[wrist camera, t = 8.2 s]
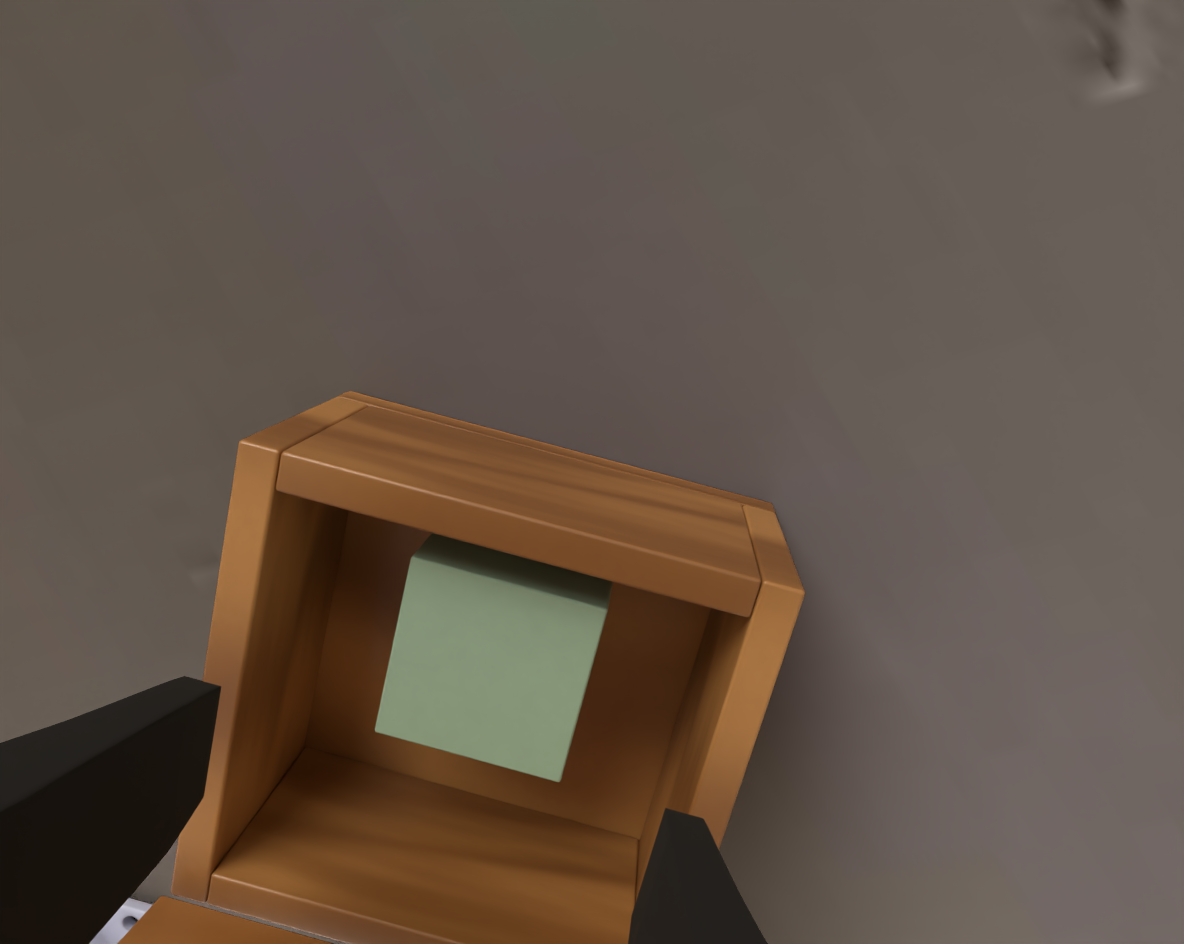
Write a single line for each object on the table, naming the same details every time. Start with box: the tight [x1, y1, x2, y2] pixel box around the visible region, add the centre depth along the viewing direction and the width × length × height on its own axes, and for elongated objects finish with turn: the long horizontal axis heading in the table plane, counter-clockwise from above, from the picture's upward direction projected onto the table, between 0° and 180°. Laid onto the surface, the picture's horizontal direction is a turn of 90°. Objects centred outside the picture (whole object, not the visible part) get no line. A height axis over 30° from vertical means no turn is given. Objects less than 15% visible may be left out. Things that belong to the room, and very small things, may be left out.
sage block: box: [375, 533, 613, 782], centre depth 20 cm, size 4×4×4 cm
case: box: [171, 391, 805, 944], centre depth 20 cm, size 10×11×6 cm
